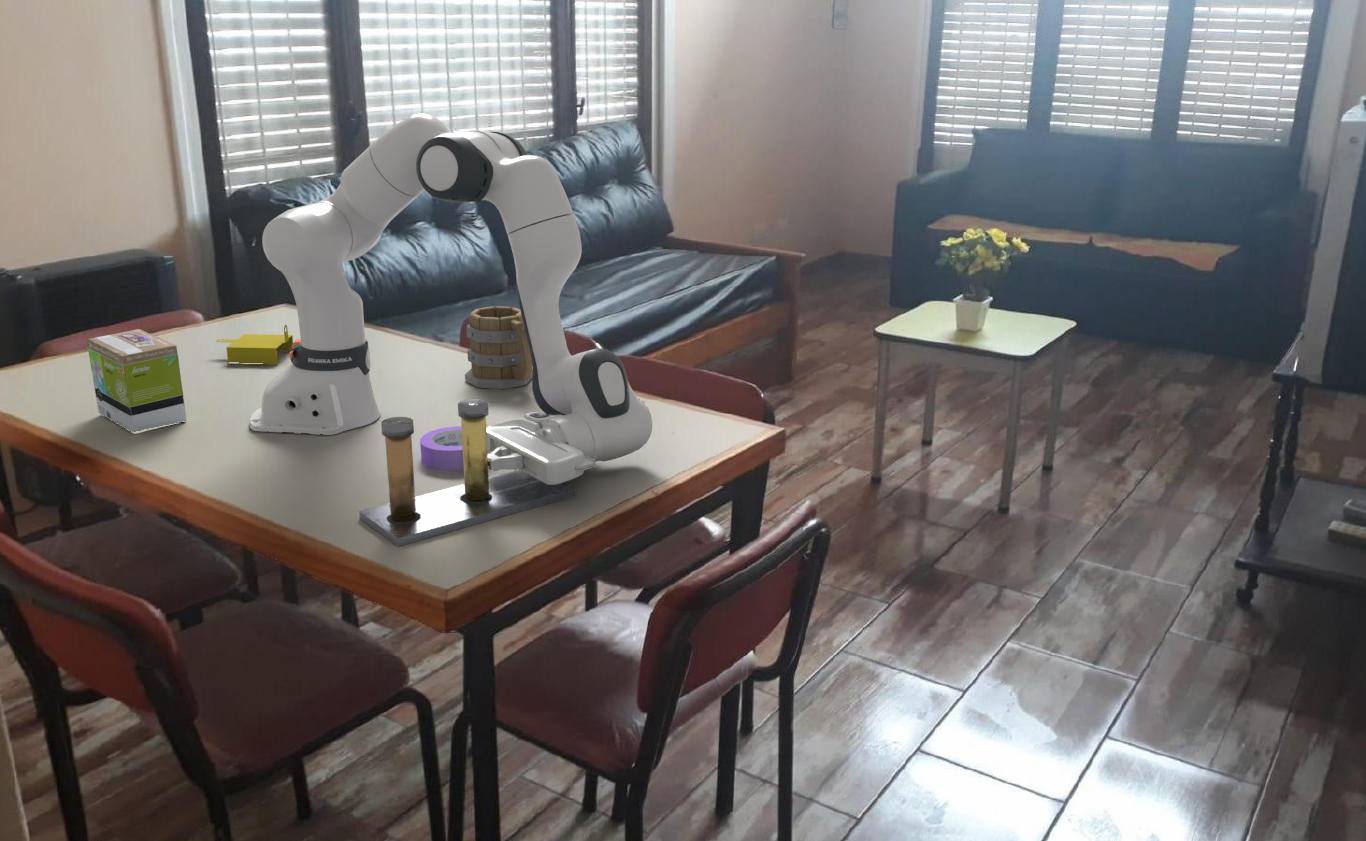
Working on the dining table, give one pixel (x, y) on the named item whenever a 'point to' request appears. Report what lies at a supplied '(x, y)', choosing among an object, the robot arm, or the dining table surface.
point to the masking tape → (443, 449)
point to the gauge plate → (465, 507)
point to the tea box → (137, 379)
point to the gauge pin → (474, 448)
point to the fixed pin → (400, 467)
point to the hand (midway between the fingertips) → (486, 463)
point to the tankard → (498, 349)
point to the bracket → (258, 347)
